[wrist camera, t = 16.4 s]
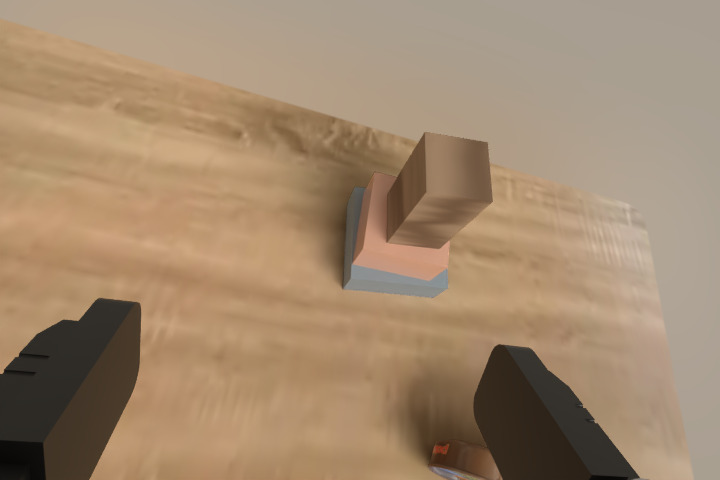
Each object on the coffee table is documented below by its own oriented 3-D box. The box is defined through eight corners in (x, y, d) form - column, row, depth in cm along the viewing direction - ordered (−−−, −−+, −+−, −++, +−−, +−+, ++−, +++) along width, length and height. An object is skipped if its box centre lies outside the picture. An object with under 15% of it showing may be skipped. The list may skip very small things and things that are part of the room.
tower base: (341, 290, 47) (350, 278, 42) (346, 205, 50) (354, 186, 46) (431, 299, 49) (448, 288, 44) (429, 216, 52) (444, 199, 48)
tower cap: (352, 264, 43) (363, 248, 39) (363, 192, 46) (374, 171, 42) (429, 281, 44) (447, 267, 40) (435, 210, 47) (453, 191, 43)
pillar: (386, 243, 40) (426, 192, 31) (387, 193, 42) (424, 131, 32) (439, 249, 41) (492, 201, 32) (437, 200, 43) (487, 142, 33)
